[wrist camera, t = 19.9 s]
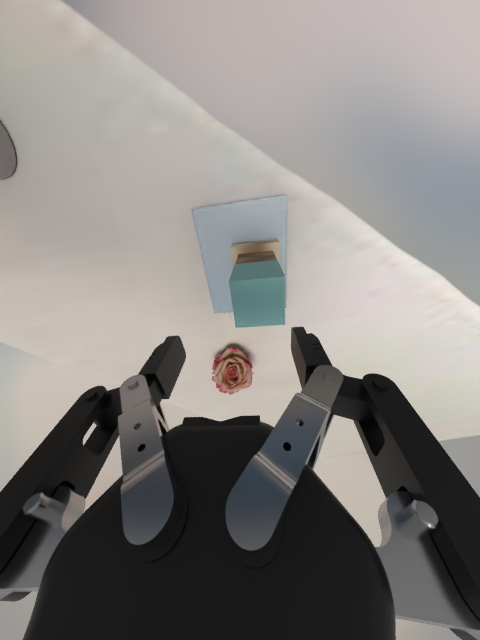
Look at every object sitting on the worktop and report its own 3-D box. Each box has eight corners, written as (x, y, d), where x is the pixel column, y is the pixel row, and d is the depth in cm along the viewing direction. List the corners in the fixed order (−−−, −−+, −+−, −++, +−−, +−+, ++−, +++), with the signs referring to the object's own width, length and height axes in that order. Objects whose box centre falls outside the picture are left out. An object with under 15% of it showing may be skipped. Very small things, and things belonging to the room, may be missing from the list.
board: (215, 310, 38) (214, 313, 37) (193, 208, 28) (191, 209, 27) (284, 304, 36) (285, 307, 35) (285, 195, 27) (286, 194, 26)
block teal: (239, 302, 24) (236, 327, 19) (234, 264, 22) (228, 281, 16) (278, 299, 24) (284, 324, 18) (277, 259, 21) (285, 276, 16)
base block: (238, 284, 33) (236, 292, 30) (232, 243, 30) (230, 247, 26) (277, 280, 32) (280, 288, 29) (276, 238, 29) (279, 241, 25)
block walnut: (242, 286, 29) (239, 303, 24) (238, 254, 27) (234, 265, 22) (273, 283, 29) (278, 300, 24) (272, 250, 26) (277, 260, 21)
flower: (257, 379, 45) (259, 388, 37) (222, 390, 45) (216, 402, 37) (245, 341, 46) (244, 342, 38) (211, 353, 46) (202, 356, 38)
